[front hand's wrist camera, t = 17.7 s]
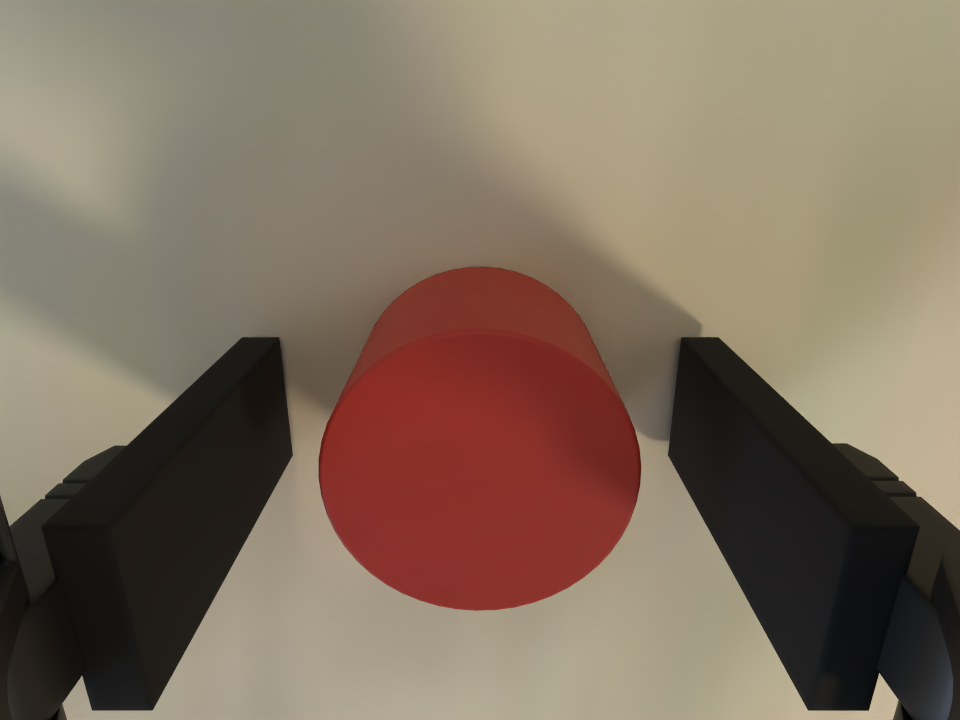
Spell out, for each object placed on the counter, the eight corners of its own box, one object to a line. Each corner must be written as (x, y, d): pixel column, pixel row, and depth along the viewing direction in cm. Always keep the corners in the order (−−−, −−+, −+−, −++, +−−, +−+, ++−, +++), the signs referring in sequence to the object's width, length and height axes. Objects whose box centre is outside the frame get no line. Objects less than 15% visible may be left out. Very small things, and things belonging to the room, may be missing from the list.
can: (460, 213, 13) (451, 258, 9) (647, 365, 14) (711, 463, 10) (315, 398, 14) (255, 505, 10) (496, 522, 15) (501, 658, 11)
